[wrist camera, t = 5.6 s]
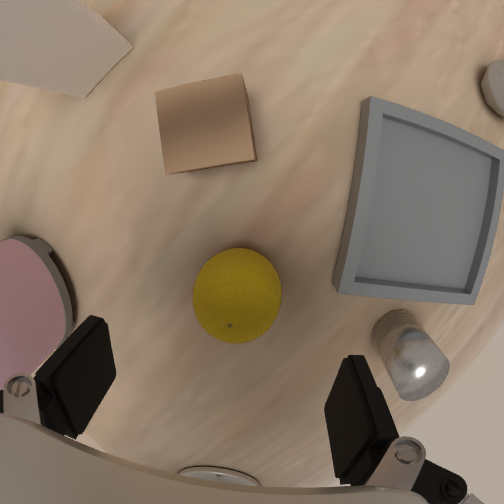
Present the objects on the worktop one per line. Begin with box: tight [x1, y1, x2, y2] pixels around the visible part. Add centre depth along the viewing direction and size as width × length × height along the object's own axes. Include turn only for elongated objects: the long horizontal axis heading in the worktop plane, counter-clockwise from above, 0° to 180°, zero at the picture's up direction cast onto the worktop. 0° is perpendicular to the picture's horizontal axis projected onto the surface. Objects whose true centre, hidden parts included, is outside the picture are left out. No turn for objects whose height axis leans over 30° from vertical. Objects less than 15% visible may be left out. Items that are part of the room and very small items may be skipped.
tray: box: [332, 96, 504, 305], centre depth 19 cm, size 14×14×2 cm
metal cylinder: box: [371, 309, 450, 401], centre depth 20 cm, size 4×4×7 cm
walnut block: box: [155, 74, 257, 175], centre depth 17 cm, size 5×5×5 cm
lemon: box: [193, 248, 282, 343], centre depth 18 cm, size 6×6×8 cm
